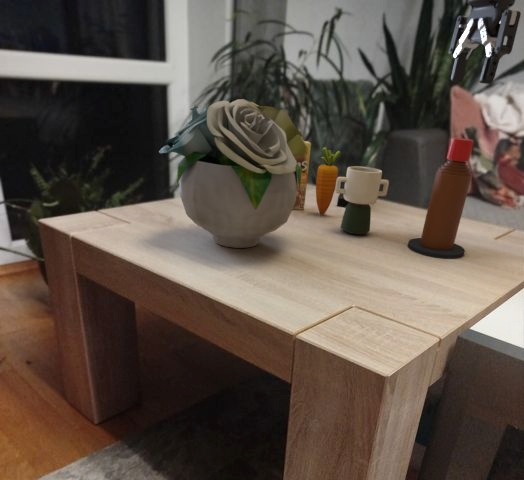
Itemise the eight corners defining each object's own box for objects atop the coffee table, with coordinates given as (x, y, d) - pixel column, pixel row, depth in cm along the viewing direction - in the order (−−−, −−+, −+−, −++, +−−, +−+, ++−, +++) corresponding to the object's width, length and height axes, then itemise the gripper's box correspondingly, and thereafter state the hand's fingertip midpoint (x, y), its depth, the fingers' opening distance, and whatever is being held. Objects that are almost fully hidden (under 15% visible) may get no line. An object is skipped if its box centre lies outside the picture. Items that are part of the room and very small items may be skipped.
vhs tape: (367, 198, 140) (368, 191, 139) (366, 209, 128) (367, 201, 127) (340, 195, 141) (341, 188, 140) (336, 206, 129) (338, 198, 128)
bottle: (444, 241, 104) (470, 140, 94) (458, 250, 98) (487, 144, 89) (415, 240, 103) (438, 138, 93) (427, 249, 97) (453, 142, 88)
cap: (462, 158, 95) (467, 138, 93) (472, 162, 91) (477, 141, 89) (442, 157, 94) (447, 137, 92) (452, 160, 91) (457, 139, 89)
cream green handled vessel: (374, 229, 111) (386, 167, 105) (383, 238, 105) (396, 174, 98) (326, 226, 110) (334, 164, 104) (332, 236, 104) (341, 170, 97)
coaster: (449, 242, 106) (450, 238, 106) (474, 259, 96) (475, 255, 96) (399, 240, 104) (400, 236, 104) (419, 257, 95) (420, 253, 95)
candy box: (268, 209, 120) (274, 140, 113) (265, 205, 124) (270, 138, 117) (304, 210, 122) (312, 142, 115) (300, 206, 126) (307, 140, 118)
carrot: (335, 215, 120) (345, 148, 112) (326, 219, 116) (336, 150, 109) (317, 211, 122) (325, 145, 115) (307, 215, 118) (315, 147, 111)
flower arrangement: (236, 275, 80) (245, 104, 68) (142, 236, 94) (136, 90, 82) (328, 247, 96) (348, 106, 84) (236, 218, 110) (242, 94, 99)
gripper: (549, -32, 77) (514, 86, 85) (489, -20, 89) (464, 83, 97) (509, -40, 75) (477, 82, 83) (453, -26, 87) (430, 79, 95)
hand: (470, 82), depth 90 cm, fingers open, 8 cm apart
